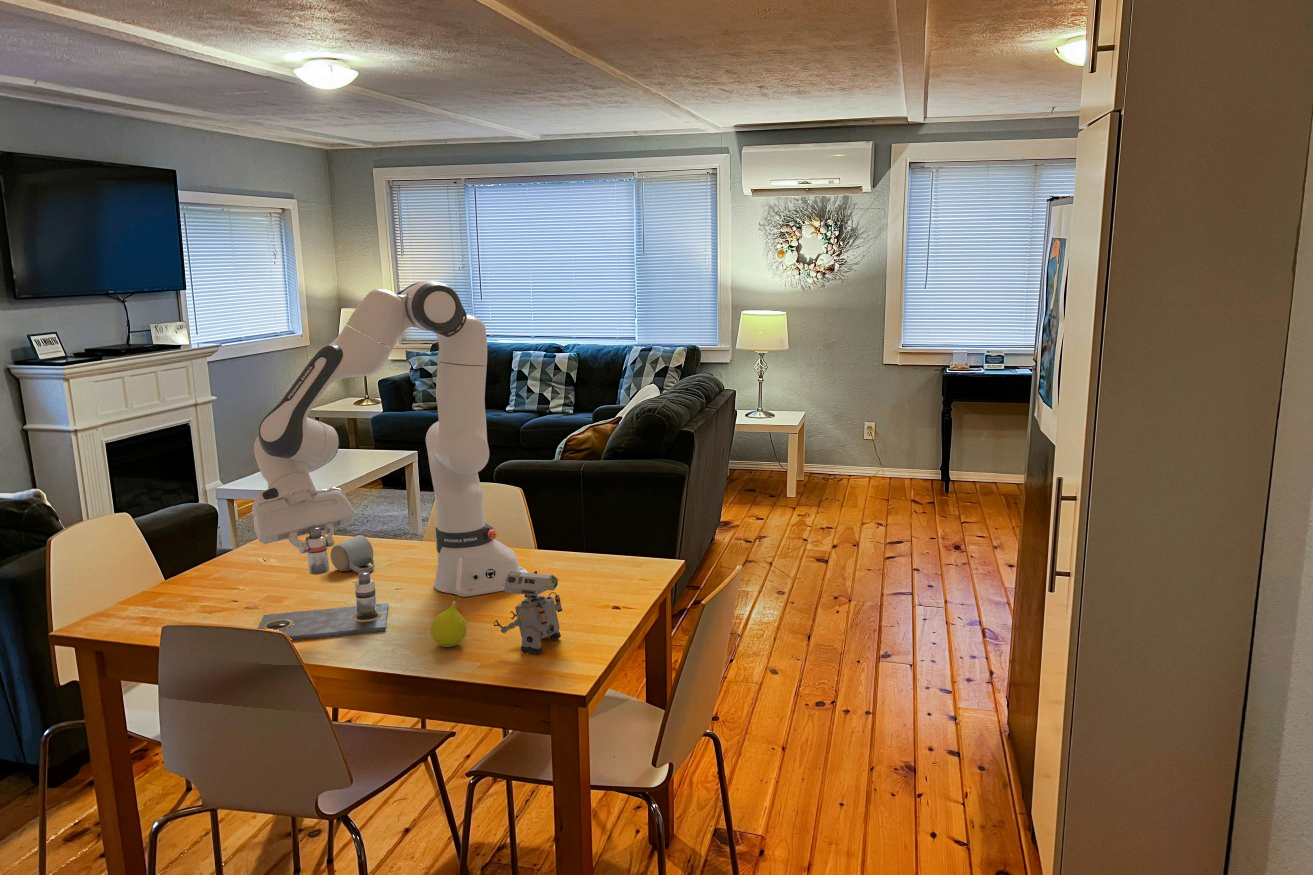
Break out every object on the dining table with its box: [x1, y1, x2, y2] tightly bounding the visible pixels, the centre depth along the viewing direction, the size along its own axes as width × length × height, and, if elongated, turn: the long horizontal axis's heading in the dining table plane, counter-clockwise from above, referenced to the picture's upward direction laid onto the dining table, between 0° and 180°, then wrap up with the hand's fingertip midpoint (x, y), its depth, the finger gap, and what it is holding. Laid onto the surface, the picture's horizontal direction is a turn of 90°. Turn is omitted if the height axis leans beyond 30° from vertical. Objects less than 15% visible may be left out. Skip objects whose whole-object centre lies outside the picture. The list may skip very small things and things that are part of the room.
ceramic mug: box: [330, 534, 375, 574], centre depth 233 cm, size 11×8×8 cm
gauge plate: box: [256, 602, 389, 642], centre depth 198 cm, size 26×14×1 cm, turn 103°
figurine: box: [493, 570, 563, 656], centre depth 185 cm, size 9×12×15 cm
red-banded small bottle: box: [305, 527, 330, 576], centre depth 195 cm, size 4×4×10 cm
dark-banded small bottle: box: [354, 572, 377, 619], centre depth 199 cm, size 4×4×10 cm
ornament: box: [430, 594, 468, 648], centre depth 185 cm, size 7×7×10 cm
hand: (317, 548), depth 195 cm, fingers closed on red-banded small bottle, 4 cm apart
